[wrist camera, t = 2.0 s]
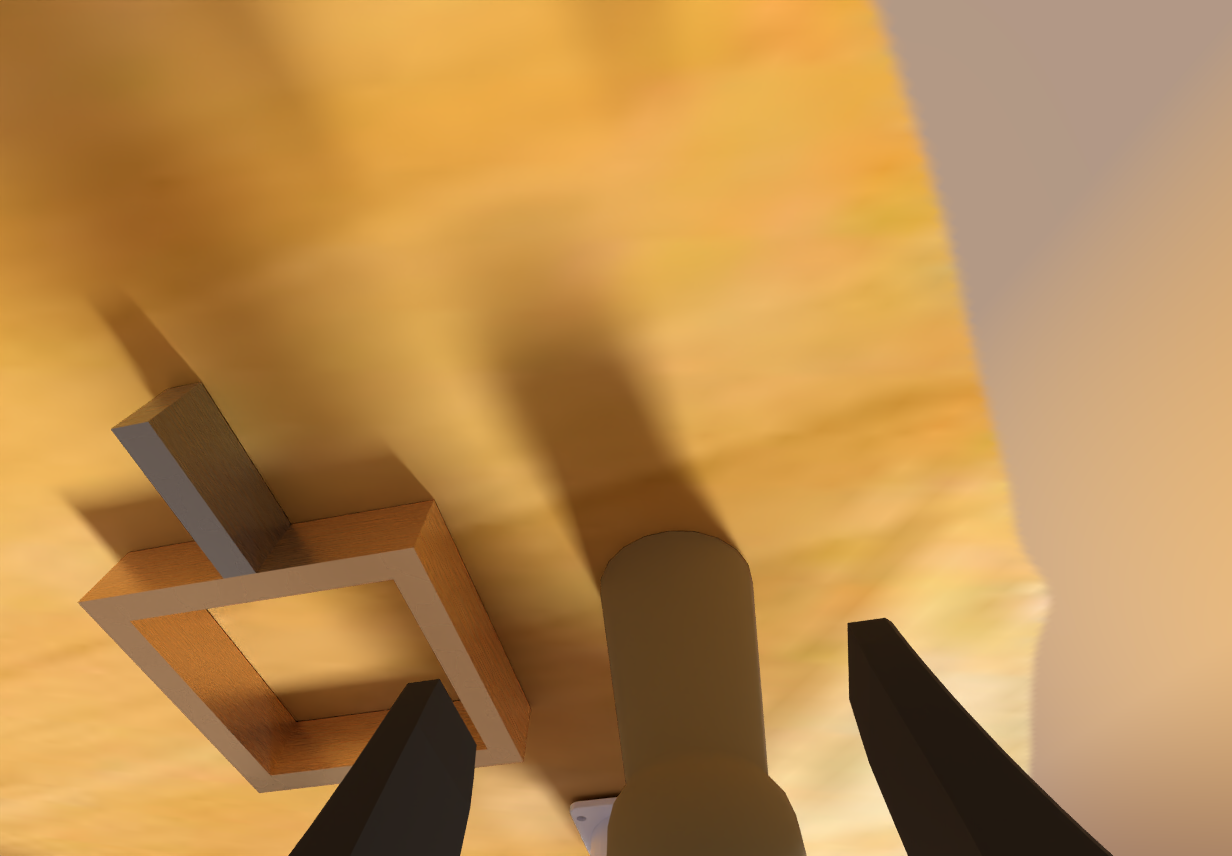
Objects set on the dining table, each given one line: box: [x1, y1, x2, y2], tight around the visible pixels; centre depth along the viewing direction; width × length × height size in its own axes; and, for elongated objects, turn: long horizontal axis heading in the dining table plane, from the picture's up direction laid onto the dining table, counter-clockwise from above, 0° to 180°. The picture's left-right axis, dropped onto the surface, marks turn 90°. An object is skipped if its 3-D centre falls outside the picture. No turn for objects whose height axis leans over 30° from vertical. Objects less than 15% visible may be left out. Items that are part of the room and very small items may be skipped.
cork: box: [601, 531, 806, 856], centre depth 19 cm, size 6×6×11 cm
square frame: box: [78, 382, 531, 793], centre depth 24 cm, size 24×12×2 cm, turn 12°
